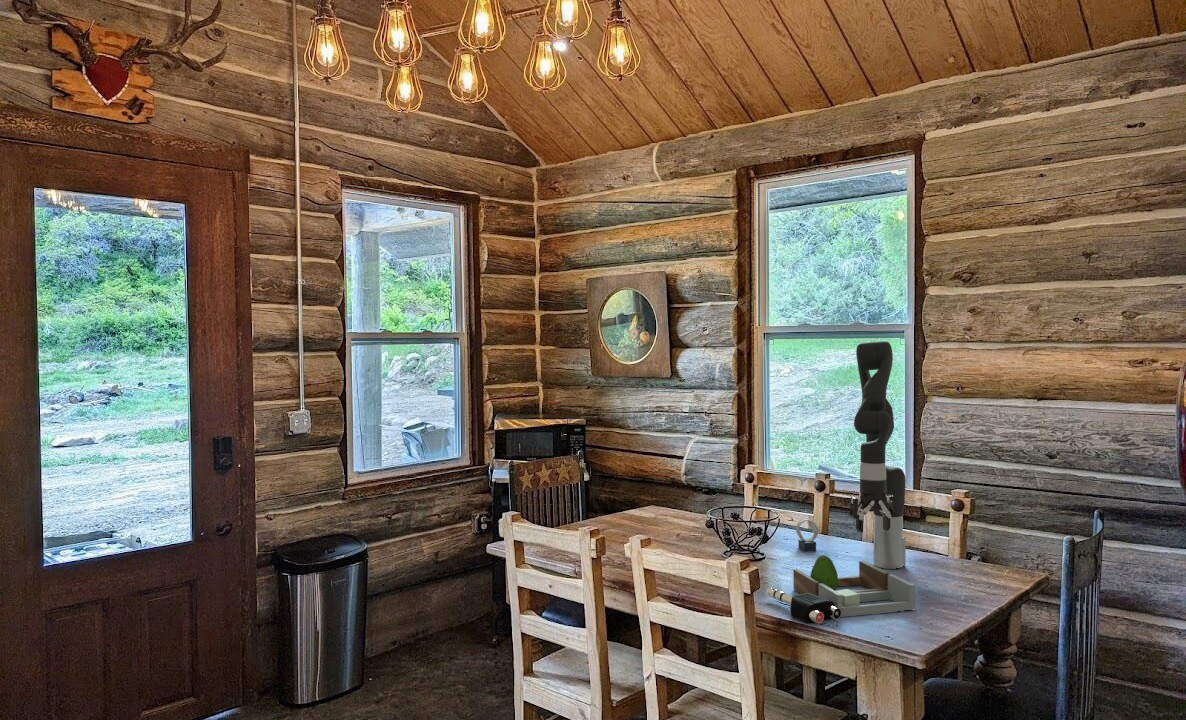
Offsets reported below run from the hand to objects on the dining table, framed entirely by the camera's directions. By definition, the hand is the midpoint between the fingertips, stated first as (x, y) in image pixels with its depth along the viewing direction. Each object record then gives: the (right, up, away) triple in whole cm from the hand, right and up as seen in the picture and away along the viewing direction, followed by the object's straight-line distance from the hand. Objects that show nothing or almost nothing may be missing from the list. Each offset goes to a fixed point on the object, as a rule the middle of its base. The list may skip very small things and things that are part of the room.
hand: (873, 530), depth 244 cm
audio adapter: (-27, -19, -17) cm, 37 cm away
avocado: (-16, -19, -3) cm, 24 cm away
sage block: (-13, -19, -16) cm, 28 cm away
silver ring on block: (-7, -17, +49) cm, 52 cm away
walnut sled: (-11, -18, -2) cm, 22 cm away
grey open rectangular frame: (-8, -19, -15) cm, 25 cm away
